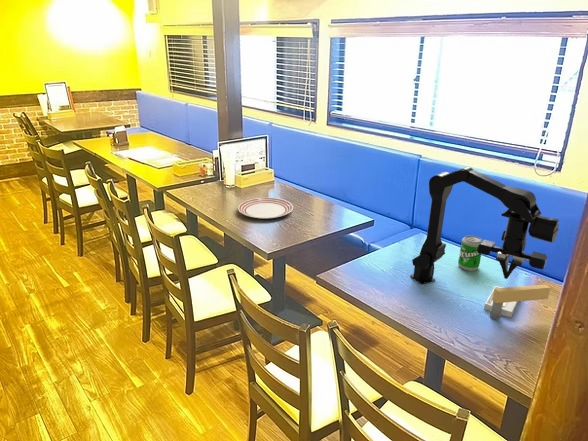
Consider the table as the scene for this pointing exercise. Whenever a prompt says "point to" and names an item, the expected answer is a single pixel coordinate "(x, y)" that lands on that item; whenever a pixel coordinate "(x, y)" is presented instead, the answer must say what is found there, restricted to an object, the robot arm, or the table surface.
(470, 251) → the soda can
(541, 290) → the bar
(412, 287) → the table surface
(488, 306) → the white flat block
